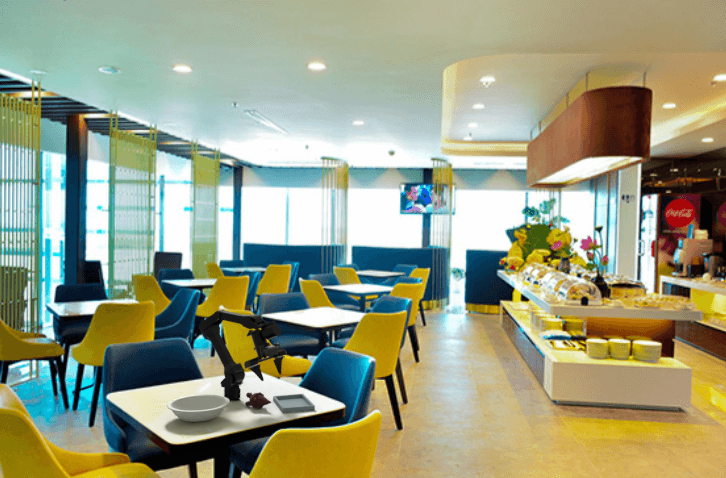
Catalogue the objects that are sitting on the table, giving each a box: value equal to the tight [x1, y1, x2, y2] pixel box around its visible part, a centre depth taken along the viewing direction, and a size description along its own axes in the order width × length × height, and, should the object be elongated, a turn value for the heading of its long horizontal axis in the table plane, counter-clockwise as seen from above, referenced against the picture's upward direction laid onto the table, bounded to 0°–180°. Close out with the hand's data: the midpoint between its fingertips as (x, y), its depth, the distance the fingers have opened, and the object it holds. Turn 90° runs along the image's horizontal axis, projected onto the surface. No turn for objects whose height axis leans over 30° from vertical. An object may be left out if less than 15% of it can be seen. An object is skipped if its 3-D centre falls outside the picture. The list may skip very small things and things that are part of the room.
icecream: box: [244, 391, 272, 410], centre depth 241 cm, size 7×7×15 cm
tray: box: [272, 393, 316, 414], centre depth 247 cm, size 14×20×2 cm
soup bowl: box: [166, 394, 231, 423], centre depth 226 cm, size 24×24×7 cm
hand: (271, 377), depth 245 cm, fingers open, 9 cm apart
